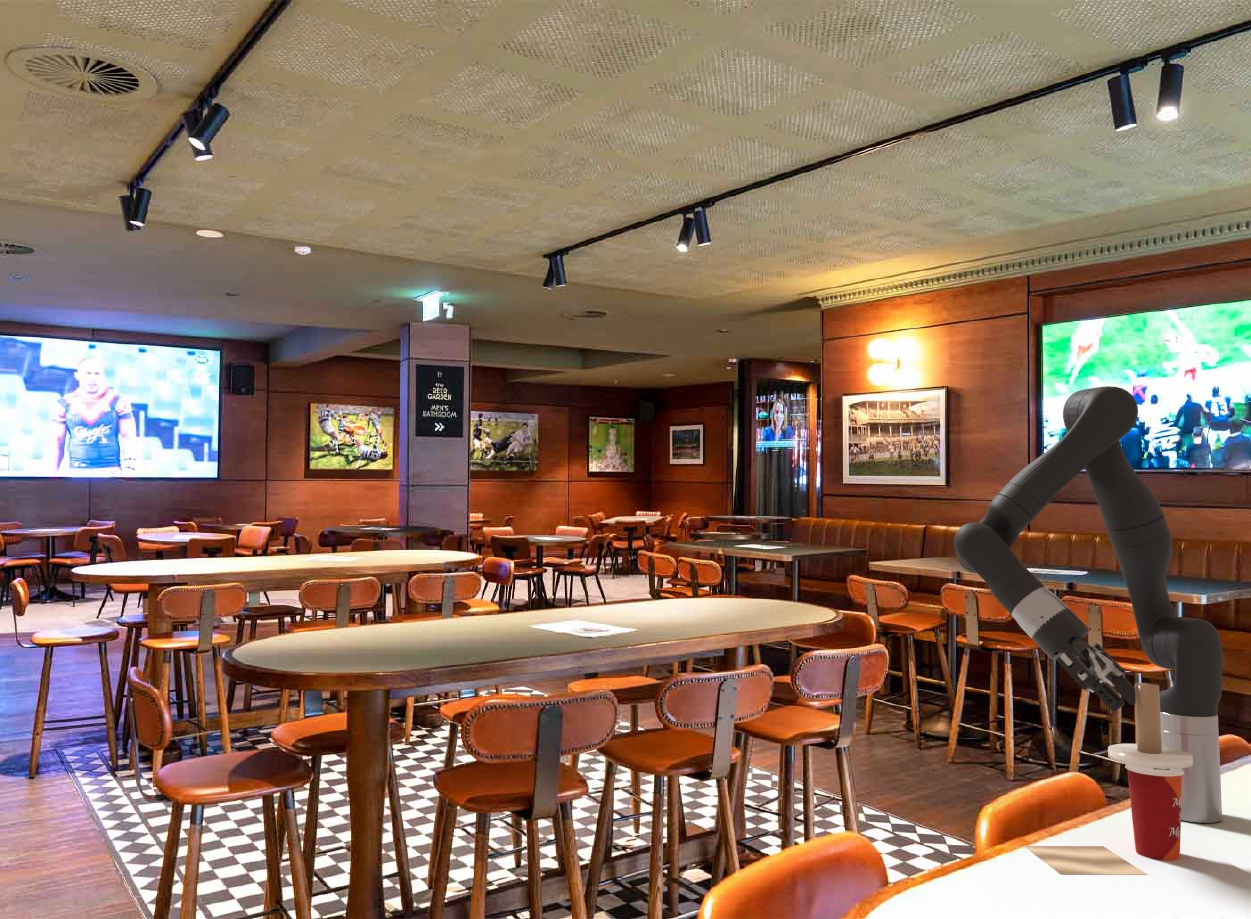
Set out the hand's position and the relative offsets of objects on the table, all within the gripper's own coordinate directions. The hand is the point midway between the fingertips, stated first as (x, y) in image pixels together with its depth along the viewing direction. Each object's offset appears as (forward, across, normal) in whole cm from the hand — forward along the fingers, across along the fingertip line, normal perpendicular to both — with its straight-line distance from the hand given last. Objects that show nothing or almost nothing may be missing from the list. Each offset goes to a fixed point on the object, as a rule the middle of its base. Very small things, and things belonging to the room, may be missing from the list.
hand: (1129, 704), depth 143 cm
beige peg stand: (+7, 0, +4) cm, 8 cm away
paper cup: (+18, 0, +13) cm, 22 cm away
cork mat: (+13, -10, +18) cm, 24 cm away
